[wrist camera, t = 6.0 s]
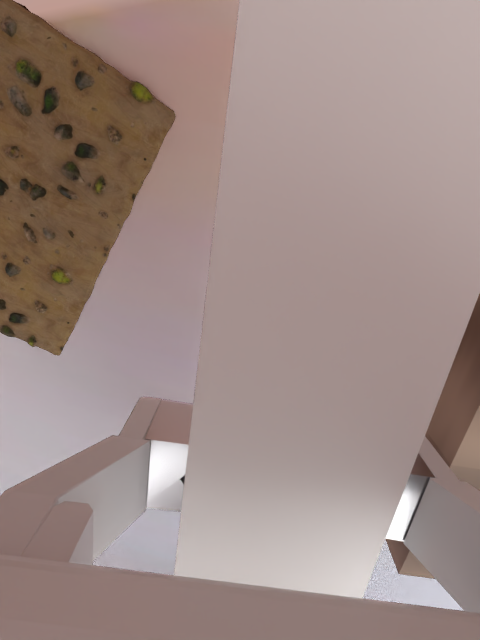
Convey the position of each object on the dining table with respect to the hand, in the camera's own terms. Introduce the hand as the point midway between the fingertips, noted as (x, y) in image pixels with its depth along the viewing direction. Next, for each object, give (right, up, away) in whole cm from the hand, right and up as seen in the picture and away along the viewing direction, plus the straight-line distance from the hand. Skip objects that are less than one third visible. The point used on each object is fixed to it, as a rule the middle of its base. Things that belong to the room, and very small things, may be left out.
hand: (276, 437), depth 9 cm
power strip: (0, +1, +3) cm, 3 cm away
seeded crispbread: (-11, +9, +5) cm, 15 cm away
